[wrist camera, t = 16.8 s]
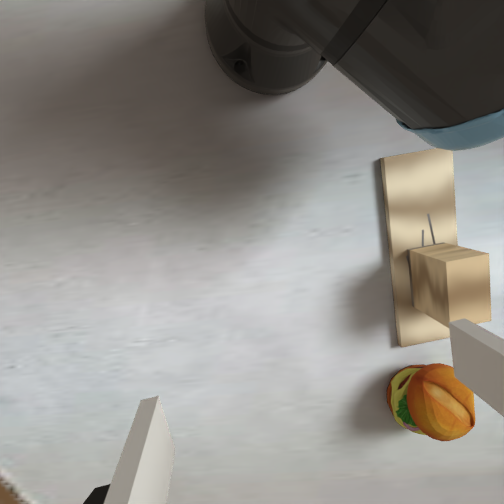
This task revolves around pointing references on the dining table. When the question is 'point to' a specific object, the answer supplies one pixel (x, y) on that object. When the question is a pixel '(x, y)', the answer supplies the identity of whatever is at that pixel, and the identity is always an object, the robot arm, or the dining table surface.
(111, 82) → the dining table surface
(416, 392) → the cheeseburger
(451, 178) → the board
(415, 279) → the block
